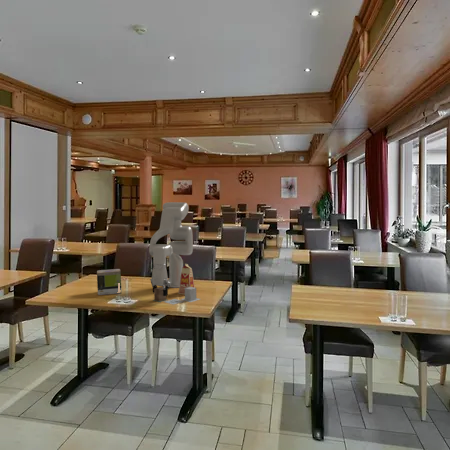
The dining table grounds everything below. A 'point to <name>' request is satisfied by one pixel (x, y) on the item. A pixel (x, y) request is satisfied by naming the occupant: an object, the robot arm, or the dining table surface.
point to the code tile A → (174, 301)
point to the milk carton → (186, 279)
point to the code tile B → (190, 301)
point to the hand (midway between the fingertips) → (160, 294)
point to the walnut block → (159, 294)
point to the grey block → (190, 293)
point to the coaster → (159, 301)
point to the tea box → (108, 281)
